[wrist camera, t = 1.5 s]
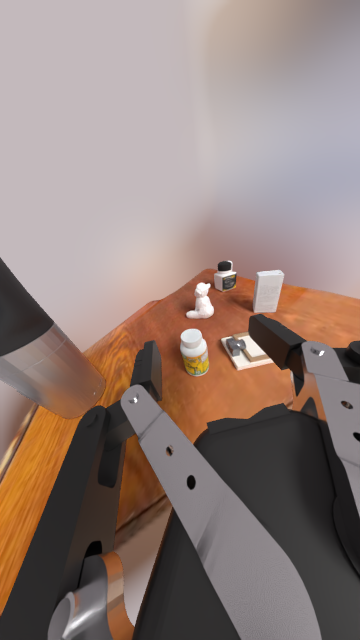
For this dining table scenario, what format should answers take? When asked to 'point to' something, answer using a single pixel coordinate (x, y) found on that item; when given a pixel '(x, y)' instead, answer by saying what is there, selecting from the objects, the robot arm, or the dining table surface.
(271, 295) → the skincare box
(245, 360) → the coupling board
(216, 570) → the robot arm
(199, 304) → the white creature statuette
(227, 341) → the shaft stubs
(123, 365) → the dining table surface
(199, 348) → the supplement bottle
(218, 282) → the medicine bottle
